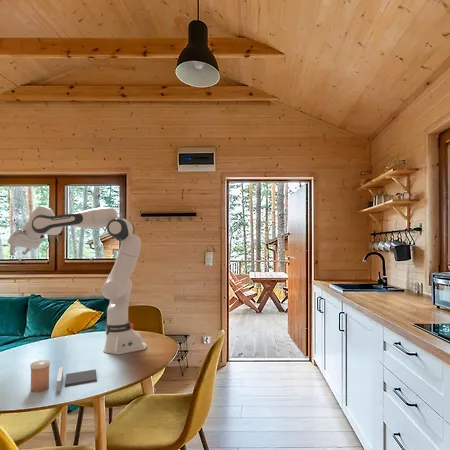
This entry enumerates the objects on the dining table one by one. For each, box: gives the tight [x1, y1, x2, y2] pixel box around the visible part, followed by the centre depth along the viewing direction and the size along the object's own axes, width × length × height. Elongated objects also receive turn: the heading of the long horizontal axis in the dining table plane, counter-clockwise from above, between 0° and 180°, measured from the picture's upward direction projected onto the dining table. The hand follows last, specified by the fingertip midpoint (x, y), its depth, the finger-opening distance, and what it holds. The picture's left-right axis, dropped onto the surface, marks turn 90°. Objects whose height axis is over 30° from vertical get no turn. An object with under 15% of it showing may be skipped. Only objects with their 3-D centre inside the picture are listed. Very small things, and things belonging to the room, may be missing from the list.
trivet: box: [64, 369, 98, 387], centre depth 139 cm, size 12×12×1 cm
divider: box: [55, 366, 64, 392], centre depth 134 cm, size 2×16×4 cm, turn 23°
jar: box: [30, 359, 51, 393], centre depth 130 cm, size 7×7×10 cm
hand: (17, 253), depth 182 cm, fingers open, 8 cm apart
